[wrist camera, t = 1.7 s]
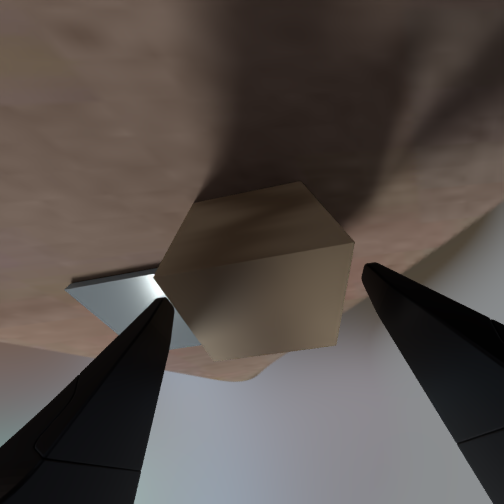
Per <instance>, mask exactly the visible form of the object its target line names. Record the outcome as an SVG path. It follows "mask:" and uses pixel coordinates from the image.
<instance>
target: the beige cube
mask: <svg viewBox="0 0 504 504" xmlns="http://www.w3.org/2000/svg"><path fill="white" fill-rule="evenodd" d="M354 244H355V242H354V241H353V240H352V239H351V237H350V236H349V235H348V234H347V233H346V232H345V231H344V230H343V228H342V227H341V226H340V225H339V224H338V223H337V222H336V220H335V219H334V218H333V217H332V216H331V215H330V214H329V213H328V211H327V210H326V209H325V208H324V207H323V206H322V205H321V203H320V202H319V201H318V200H317V199H316V198H315V197H314V196H313V194H312V193H311V192H310V191H309V190H308V189H307V188H306V186H305V185H304V184H303V183H302V182H301V181H298V182H293V183H288V184H283V185H279V186H274V187H269V188H264V189H259V190H254V191H249V192H244V193H239V194H234V195H230V196H225V197H220V198H215V199H210V200H205V201H200V202H195V203H193V205H192V207H191V209H190V210H189V212H188V214H187V216H186V218H185V219H184V221H183V223H182V225H181V227H180V229H179V230H178V232H177V234H176V236H175V238H174V240H173V241H172V243H171V245H170V247H169V249H168V251H167V252H166V254H165V256H164V258H163V260H162V262H161V263H160V265H159V267H158V269H157V271H156V273H155V274H154V276H153V279H154V280H155V281H156V283H157V284H158V286H159V287H160V288H161V290H162V291H163V292H164V294H165V295H166V297H167V298H168V299H169V301H170V302H171V303H172V305H173V306H174V308H175V309H176V310H177V312H178V313H179V314H180V316H181V317H182V319H183V320H184V321H185V323H186V324H187V326H188V327H189V328H190V330H191V331H192V332H193V334H194V335H195V337H196V338H197V339H198V341H199V342H200V343H201V345H202V346H203V348H204V349H205V350H206V352H207V353H208V354H209V356H210V357H211V359H212V360H213V361H214V362H216V361H223V360H231V359H238V358H246V357H253V356H261V355H268V354H276V353H283V352H291V351H298V350H305V349H313V348H320V347H328V346H335V345H336V344H337V338H338V332H339V327H340V321H341V316H342V310H343V305H344V299H345V294H346V288H347V283H348V277H349V272H350V266H351V261H352V255H353V249H354Z"/></svg>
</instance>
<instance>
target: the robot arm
mask: <svg viewBox="0 0 504 504" xmlns="http://www.w3.org/2000/svg"><path fill="white" fill-rule="evenodd" d="M362 283H363V285H364V287H365V289H366V291H367V293H368V295H369V297H370V300H371V302H372V304H373V306H374V308H375V310H376V312H377V314H378V316H379V317H380V319H381V321H382V323H383V324H384V325H385V327H386V329H387V330H388V332H389V334H390V336H391V337H392V339H393V340H394V342H395V344H396V345H397V347H398V349H399V350H400V351H401V354H402V355H403V357H404V358H405V360H406V362H407V363H408V365H409V366H410V368H411V370H412V372H413V373H414V375H415V376H416V378H417V380H418V381H419V383H420V385H421V386H422V388H423V389H424V391H425V392H426V394H427V396H428V398H429V399H430V401H431V403H432V404H433V406H434V407H435V409H436V411H437V412H438V414H439V416H440V417H441V419H442V421H443V422H444V424H445V425H446V427H447V429H448V430H449V432H450V434H451V435H452V437H453V438H454V440H455V442H456V443H457V445H458V447H459V449H460V450H461V452H462V453H463V455H464V457H465V458H466V460H467V462H468V463H469V465H470V467H471V468H472V470H473V471H474V473H475V475H476V476H477V478H478V480H479V481H480V483H481V484H482V486H483V488H484V489H485V491H486V493H487V494H488V496H489V498H490V499H491V501H492V502H493V504H504V325H503V324H501V323H499V322H497V321H495V320H490V318H488V317H487V316H485V315H482V314H480V313H478V312H476V311H474V310H472V309H470V308H468V307H466V306H464V305H462V304H460V303H458V302H456V301H454V300H452V299H450V298H448V297H446V296H444V295H442V294H440V293H438V292H436V291H434V290H431V289H429V288H428V287H426V286H423V285H421V284H419V283H417V282H415V281H413V280H411V279H409V278H407V277H405V276H403V275H401V274H399V273H397V272H395V271H393V270H391V269H389V268H387V267H385V266H383V265H381V264H379V263H376V262H373V263H367V264H365V265H364V269H363V273H362ZM174 313H175V310H174V307H173V305H172V304H171V302H170V301H169V300H168V298H166V297H160V298H157V299H155V300H154V301H153V302H152V303H151V304H150V305H149V306H148V307H147V308H146V309H145V310H144V311H143V312H142V313H141V314H140V315H139V316H138V317H137V318H136V319H135V320H134V321H133V322H132V323H131V324H130V325H129V326H128V327H127V328H126V329H125V330H124V331H123V332H122V333H121V334H120V335H119V336H118V337H117V338H115V339H114V340H113V341H112V342H111V343H110V344H109V345H108V346H107V347H106V348H105V349H104V350H103V351H102V352H101V353H100V354H99V355H98V356H97V357H96V358H95V359H94V360H93V361H92V362H91V363H90V364H89V365H88V366H87V367H86V368H85V369H84V370H83V371H82V372H81V373H80V375H78V376H77V377H76V378H75V379H74V380H73V381H72V382H71V383H70V384H69V385H68V386H67V387H66V388H65V389H64V390H62V391H61V392H60V394H58V395H57V396H56V397H55V398H54V399H53V400H52V401H51V402H50V403H49V404H48V405H47V406H46V407H44V408H43V409H42V410H41V411H40V412H39V413H38V414H37V415H36V416H35V417H34V418H32V419H31V420H30V421H29V422H28V423H27V424H26V425H25V426H24V427H23V428H21V429H20V430H19V431H18V432H17V433H16V434H15V435H14V436H12V437H11V438H10V439H9V440H8V441H7V442H6V443H5V444H4V445H2V446H1V447H0V504H134V500H135V496H136V491H137V487H138V483H139V478H140V474H141V468H142V465H143V460H144V456H145V452H146V448H147V443H148V439H149V435H150V430H151V426H152V422H153V417H154V413H155V408H156V404H157V400H158V396H159V391H160V387H161V383H162V378H163V374H164V370H165V366H166V361H167V357H168V353H169V348H170V344H171V337H172V329H173V321H174Z"/></svg>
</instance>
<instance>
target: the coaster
mask: <svg viewBox="0 0 504 504" xmlns="http://www.w3.org/2000/svg"><path fill="white" fill-rule="evenodd" d="M157 269H158V268H155V269H149V270H144V271H138V272H132V273H127V274H121V275H116V276H110V277H104V278H99V279H93V280H88V281H82V282H76V283H71V284H70V285H69V286H68V287H67V288H66V289H65V291H66V292H68V293H69V294H70V295H71V296H72V297H74V298H75V299H76V300H77V301H78V302H80V303H81V304H82V305H83V306H84V307H86V308H87V309H88V310H89V311H90V312H92V313H93V314H94V315H95V316H97V317H98V318H99V319H100V320H101V321H103V322H104V323H105V324H106V325H107V326H109V327H110V328H111V329H112V330H113V331H115V332H116V333H117V334H118V335H120V334H121V333H122V332H123V331H124V330H125V329H126V328H127V327H128V326H129V325H130V324H131V323H132V322H133V321H134V320H135V319H136V318H137V317H138V316H139V315H140V314H141V313H142V312H143V311H144V310H145V309H146V308H147V307H148V306H149V305H150V304H151V303H152V302H153V301H154V300H155V299H157V298H160V297H166V295H165V294H164V292H163V291H162V290H161V288H160V287H159V286H158V284H157V283H156V281H155V280H154V279H153V276H154V274H155V273H156V271H157ZM166 298H167V297H166ZM168 300H169V299H168ZM171 304H172V303H171ZM173 307H174V306H173ZM174 310H175V313H174V321H173V329H172V337H171V344H170V348H169V350H170V349H177V348H184V347H191V346H198V345H201V343H200V342H199V341H198V339H197V338H196V337H195V335H194V334H193V332H192V331H191V330H190V328H189V327H188V326H187V324H186V323H185V321H184V320H183V319H182V317H181V316H180V314H179V313H178V312H177V310H176V309H175V308H174Z"/></svg>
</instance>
